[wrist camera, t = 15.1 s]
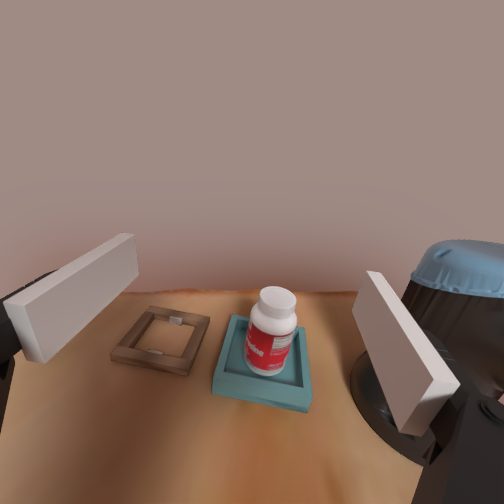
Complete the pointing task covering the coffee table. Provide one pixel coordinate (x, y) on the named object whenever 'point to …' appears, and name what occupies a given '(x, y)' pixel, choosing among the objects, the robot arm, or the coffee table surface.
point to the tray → (257, 386)
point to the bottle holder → (157, 358)
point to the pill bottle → (270, 331)
